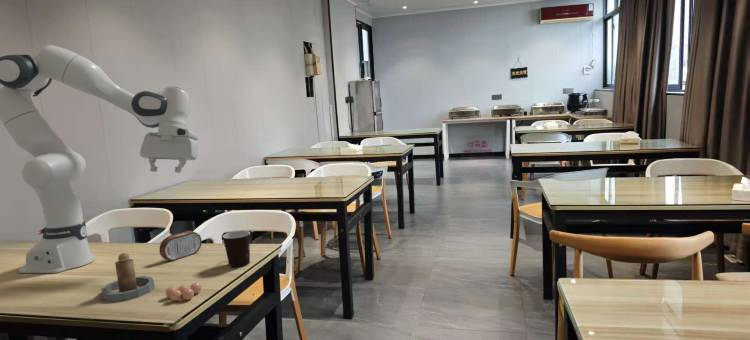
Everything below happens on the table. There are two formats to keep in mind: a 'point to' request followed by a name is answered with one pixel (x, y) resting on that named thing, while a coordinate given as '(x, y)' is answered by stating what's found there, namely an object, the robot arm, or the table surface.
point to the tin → (180, 245)
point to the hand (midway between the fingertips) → (165, 171)
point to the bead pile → (183, 292)
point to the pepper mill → (125, 273)
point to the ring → (128, 294)
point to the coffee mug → (237, 248)
